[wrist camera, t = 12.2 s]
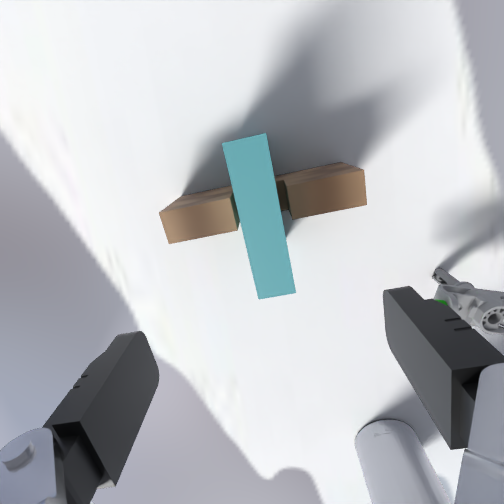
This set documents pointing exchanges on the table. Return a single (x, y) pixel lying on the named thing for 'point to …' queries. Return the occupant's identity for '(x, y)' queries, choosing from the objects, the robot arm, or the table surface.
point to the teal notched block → (260, 214)
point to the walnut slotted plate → (289, 194)
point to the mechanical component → (471, 302)
